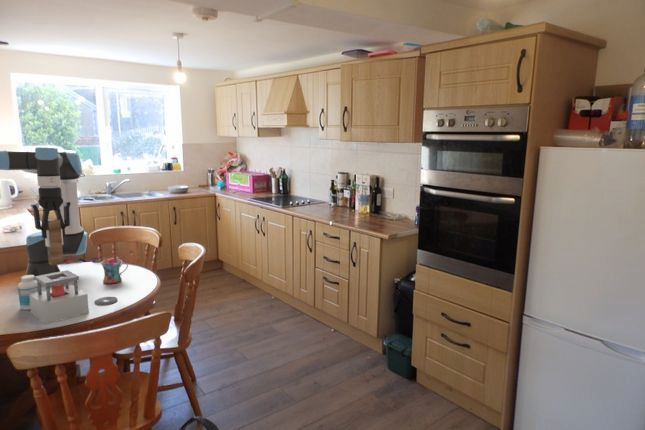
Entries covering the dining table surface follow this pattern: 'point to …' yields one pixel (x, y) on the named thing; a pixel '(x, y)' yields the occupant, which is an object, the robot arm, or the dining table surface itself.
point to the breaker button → (58, 290)
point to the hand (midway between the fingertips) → (54, 245)
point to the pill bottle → (26, 290)
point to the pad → (105, 300)
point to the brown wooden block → (55, 242)
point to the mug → (112, 270)
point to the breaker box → (58, 298)
